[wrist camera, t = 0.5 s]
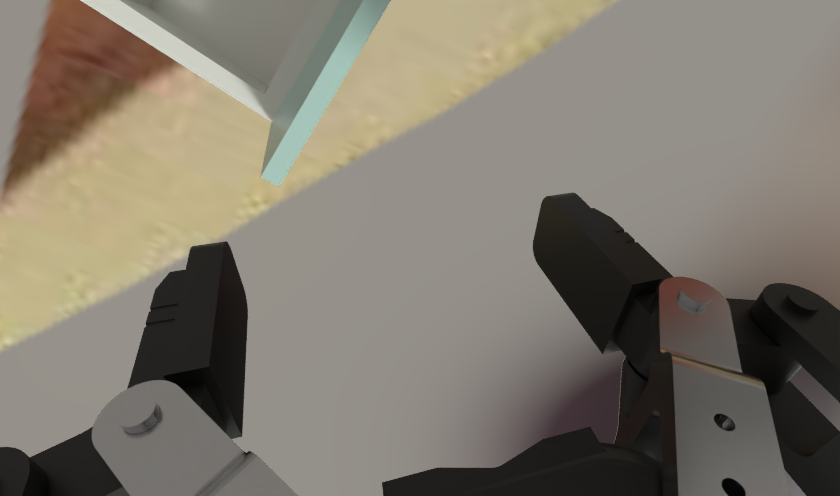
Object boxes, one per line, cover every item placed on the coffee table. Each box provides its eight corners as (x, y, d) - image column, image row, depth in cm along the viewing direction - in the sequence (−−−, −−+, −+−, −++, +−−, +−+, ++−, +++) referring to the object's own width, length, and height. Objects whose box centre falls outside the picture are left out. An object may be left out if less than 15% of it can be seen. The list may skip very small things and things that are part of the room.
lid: (434, -122, 15) (451, -103, 15) (374, -59, 25) (385, -48, 26) (260, 176, 17) (279, 186, 18) (271, 122, 28) (282, 129, 28)
